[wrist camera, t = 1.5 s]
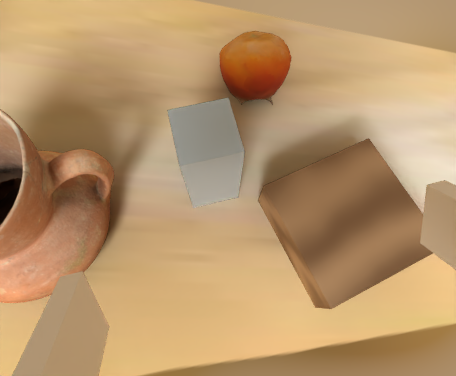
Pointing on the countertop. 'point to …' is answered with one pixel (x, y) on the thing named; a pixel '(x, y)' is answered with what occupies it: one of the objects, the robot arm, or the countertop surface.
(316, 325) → the countertop surface
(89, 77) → the countertop surface
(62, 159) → the ceramic jug
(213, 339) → the countertop surface
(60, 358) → the robot arm
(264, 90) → the fruit
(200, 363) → the countertop surface
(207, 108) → the pillar
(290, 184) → the walnut slab
